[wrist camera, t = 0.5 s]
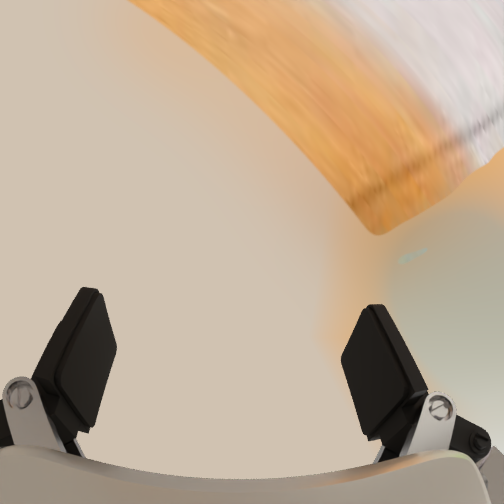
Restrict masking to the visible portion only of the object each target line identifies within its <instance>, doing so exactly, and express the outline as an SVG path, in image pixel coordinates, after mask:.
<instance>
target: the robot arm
mask: <svg viewBox="0 0 504 504" xmlns="http://www.w3.org/2000/svg"><path fill="white" fill-rule="evenodd" d="M116 350H117V345H116V341H115V338H114V334H113V331H112V327H111V324H110V320H109V317H108V313H107V309H106V305H105V301H104V297H103V295H102V294H101V293H99V291H98V289H94V288H87V287H82V288H81V289H80V290H79V292H78V294H77V296H76V297H75V299H74V300H73V302H72V304H71V306H70V307H69V309H68V311H67V313H66V314H65V316H64V318H63V320H62V321H60V323H59V324H58V326H57V328H56V329H55V331H54V333H53V335H52V337H51V339H50V341H49V343H48V345H47V347H46V348H45V350H44V352H43V354H42V356H41V359H40V361H39V363H38V365H37V367H36V369H35V371H34V373H33V375H32V378H31V379H29V378H27V377H17V378H14V379H12V380H10V381H9V382H8V383H7V385H6V386H5V388H4V390H3V399H2V400H0V504H504V455H503V454H502V453H501V452H500V451H499V450H498V449H497V448H496V447H495V446H493V447H491V439H490V436H489V434H488V433H487V432H486V430H484V429H482V428H481V427H479V426H477V425H475V424H473V423H471V422H469V421H467V420H465V419H464V418H462V417H460V416H458V415H456V406H455V403H454V401H453V400H452V399H451V398H450V397H449V396H448V395H446V394H445V393H442V392H433V393H430V394H428V392H427V390H428V388H427V386H426V383H425V381H424V379H423V377H422V375H421V373H420V371H419V369H418V367H417V365H416V363H415V361H414V359H413V357H412V355H411V353H410V351H409V350H408V347H407V346H406V344H405V342H404V340H403V338H402V336H401V334H400V332H399V331H398V329H397V327H396V325H395V323H394V322H393V320H392V318H391V316H390V315H389V313H388V311H387V309H386V307H385V306H384V305H382V304H374V305H373V304H372V305H368V306H367V307H366V308H365V309H363V310H362V312H361V315H360V317H359V319H358V321H357V324H356V326H355V328H354V330H353V333H352V335H351V337H350V339H349V341H348V343H347V345H346V347H345V349H344V351H343V353H342V356H341V364H342V367H343V370H344V373H345V376H346V379H347V383H348V386H349V389H350V392H351V396H352V399H353V402H354V405H355V409H356V412H357V415H358V419H359V422H360V426H361V429H362V432H363V434H364V435H367V438H368V441H372V440H377V439H381V442H382V446H381V448H380V450H379V452H378V454H377V457H376V458H375V460H374V462H373V464H370V465H365V466H361V467H356V468H351V469H346V470H340V471H335V472H329V473H323V474H315V475H306V476H298V477H287V478H272V479H208V478H194V477H183V476H173V475H166V474H158V473H152V472H145V471H139V470H135V469H129V468H125V467H120V466H115V465H111V464H106V463H102V462H98V461H94V460H90V459H87V458H86V457H85V456H84V454H83V452H82V450H81V448H80V446H79V444H78V442H77V440H76V437H77V433H78V431H81V432H85V433H89V430H90V427H93V426H94V425H95V422H96V418H97V415H98V411H99V407H100V403H101V400H102V396H103V393H104V390H105V386H106V383H107V380H108V377H109V373H110V370H111V367H112V364H113V361H114V358H115V355H116Z"/></svg>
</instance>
